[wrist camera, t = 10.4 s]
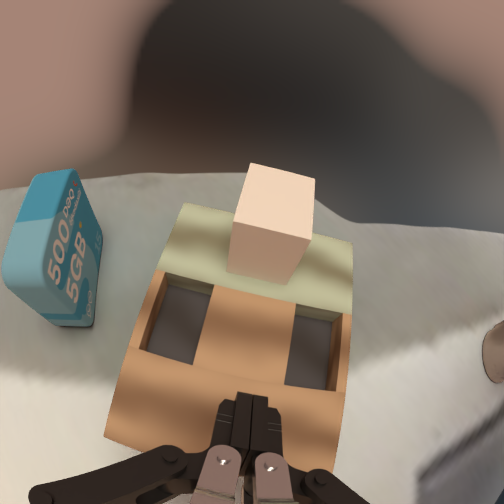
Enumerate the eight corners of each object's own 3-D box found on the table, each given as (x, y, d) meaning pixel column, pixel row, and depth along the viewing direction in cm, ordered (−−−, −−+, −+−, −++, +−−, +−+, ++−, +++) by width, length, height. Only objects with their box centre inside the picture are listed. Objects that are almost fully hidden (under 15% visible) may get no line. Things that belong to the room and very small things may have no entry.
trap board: (318, 476, 20) (330, 481, 18) (114, 434, 20) (103, 436, 17) (342, 256, 34) (352, 243, 32) (185, 218, 34) (184, 202, 31)
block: (285, 285, 28) (311, 239, 21) (226, 271, 28) (232, 221, 21) (293, 230, 31) (314, 179, 25) (240, 217, 31) (250, 162, 25)
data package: (94, 330, 25) (37, 278, 15) (59, 329, 24) (-4, 279, 14) (104, 235, 31) (74, 160, 21) (73, 237, 30) (37, 167, 20)
